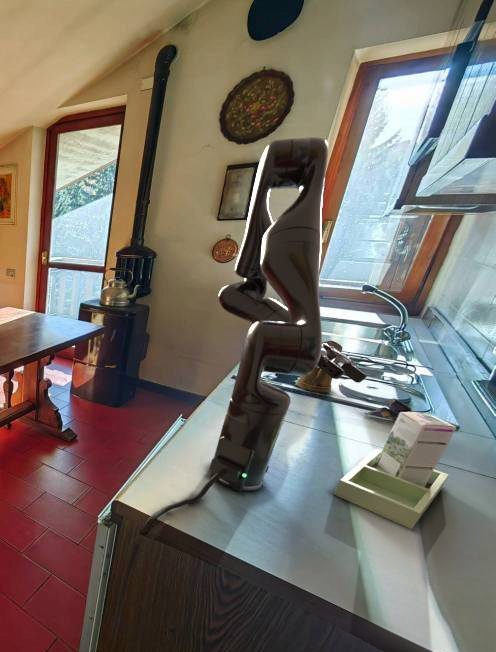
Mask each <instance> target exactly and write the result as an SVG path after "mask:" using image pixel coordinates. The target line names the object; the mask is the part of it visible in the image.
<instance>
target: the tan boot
mask: <svg viewBox="0 0 496 652" xmlns="http://www.w3.org/2000/svg"><path fill="white" fill-rule="evenodd" d="M323 343H325V344H327V345H329V346H332V347H334V348H335V349H336V350H338V351H339V352H341V353H342V352H343V346H342V345H341V344H340V343H338V342H336V341H335V340H327V341H322V344H323ZM332 381H333V378H332V377H330V376H329V375H328V374H327V373H325V372H324V371H323V370H322V369H320V367H319V368H317V367H316V368H315V369H314V370H313V371H312V372H311V373H310V374H308V375H303V376H301V375H300V377H299V378H298V379H297V381H296V383H295V385H296V386H297V387H299V388H300V389H303V390H306V391H309V392H314V393H324V394H327V393H330V392H331V390H332Z"/></svg>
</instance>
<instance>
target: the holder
mask: <svg viewBox="0 0 496 652" xmlns="http://www.w3.org/2000/svg"><path fill="white" fill-rule="evenodd" d="M381 452H382V450H379V449H374V450H373V451H372V452H371V453H369V454H368V455H367V456H366V457H365V458H363V460H361V461H360V462H359V463H358V464H357V465H355V466H354V467H353V468H352V469H351V470H349V471H348V473H346V474H345V475H344V476H343V477H341V479H339V481H338V484H337V485H336V488H335V489H334V493H333V495H334V496H336V497H339V498H341V499H343V500H345V501H347V502H350V503H352V504H354V505H356V506H359V507H361V508H364V509H365V510H368V511H370V512H373V513H375V514H377V515H379V516H381V517H383V518H385V519H387V520H390V521H392V522H395V523H397V524H399V525H401V526H403V527H406V528H407V529H410V530H413V529H414V527H415V526H416V524H417V523H418V522H419V520H420V518H421V517H422V516H423V514H424V513H425V512H426V510H427V509H428V508H429V506H430V505H431V504H432V502H433V500H434V499H435V498H436V497H437V495H438V494H439V493H440V491H441V490H442V488H443V486H444V485H445V483H446V481H447V479H448V478H449V476H450V475H449V474H448V473H446V472H443V471H439V470H437V469H434V470H433V472H432V474H431V476H430V477H429V479H428V481H427V483H426V485H425V487H422V486H420V485H417V484H414V483H412V482H409V481H406V480H404V479H401V478H399V477H396V476H393V475H391V474H388V473H385V472H383V471H380V470H378V469H375V468H374V467H375V465H376V463H377V460H378V458H379V456H380V454H381Z"/></svg>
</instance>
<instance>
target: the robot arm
mask: <svg viewBox="0 0 496 652" xmlns="http://www.w3.org/2000/svg"><path fill="white" fill-rule="evenodd" d="M328 159H329V143H328V142H327V140H326V139H325V138H323V137H319V136H309V137H295V138H280V139H279V138H278V139H274V140H272V141H271V142H269V143H268V144H267V145H266V147H265V149H264V151H263V153H262V155H261V157H260V160H259V163H258V167H257V172H256V176H255V180H254V184H253V188H252V189H253V190H252V195H251V198H250V199H251V200H250V203H249V204H250V205H249V211H248V216H247V221H246V228H245V232H244V237H243V240H242V244H241V247H240V250H239V254H238V256H237V259H236V262H235V266H234V272H235V274H236V275H237V276H238V277H240V278H243V279H244V280H241V281H237V282H233V283H230V284H228V285H226V286H223V287H222V288H221V289H220V291H219V293H218V297H217V298H218V303H219V305H220V306H221V308H222V309H223V310H224V311H226V312H227V313H229V314H231V315H232V316H235V317H237V318H240V319H241V320H245V321H247V322H250V323H252V325H251V326H250V327H249V329H248V331H247V333H246V336H245V338H244V342H243V348H242V351H241V356H240V361H239V365H238V369H237V373H236V377H235V381H234V385H233V390H232V393H231V396H230V400H229V403H228V407H227V410H226V413H225V417H224V420H223V423H222V427H221V429H220V430H221V431H220V434H219V437H218V440H217V444H216V448H215V451H214V455H213V458H212V459H211V462H210V465H209V469H208V470H209V474H208V477H209V478H210V479H209V480H208V481H207V482H205V484H204V486H202V488H201V490H200V491H199V492H198V493H197V494H195V495H194V496H192V497H188V498H186V499H182V500H180V501H177V502H174V503H171V504H168V505H166V506H164V507H162V508H161V509H159V510H157V511H155V512H154V513H153V514H151V515H150V516H149V518H148V519H147V520H146V522H145V523H144V525H142V527H141V530H140V532H141V533H142V534H147V532H149V529H150V528H151V526H152V525H153V523H155V521H156V520H157V519H158V518H159V517H161V516H163V515H164V514H166V513H168V512H170V511H172V510H175V509H177V508H181V507H183V506H185V505H188V504H192V503H195V502H197V501H199V500H200V499H202V498H203V497H204V496H205V495H206V494H207V493H208V491H209V489H210V488H211V487H212V486H213V485H214V484H215V483H216V482H219V483H220V484H222V485H225V486H226V487H228V488H230V489H232V490H234V491H236V492H238V493H240V492H242V491H245V492H253V491H258V490H259V489H260V488H261V487H262V485H263V482H264V478H265V474H267V473H268V470H269V468H270V467H269V464H270V461H271V457H272V454H273V451H274V449H275V446H276V443H277V440H278V439H279V435H280V433H281V430H282V427H283V424H284V423H285V419H286V416H287V412H288V411H289V408H290V405H291V402H292V401H291V399H292V398H291V396H290V394H289V393H288V392H286V391H285V390H284V389H282V388H280V387H278V386H275V385H274V384H271V383H269V382H267V381H265V380H264V379H262V373H263V372H266V373H271V374H273V373H274V374H281V375H288V376H289V375H290V376H300V377H301V376H303V375H308V374H310V373H311V372H312V371H313V370H314V369H315V368H316V367H317V368H319V367H320V369H322V370H323V371H324V372H325V373H327V374H328V375H329V376H330V377H332V380H339V379H340V378H341V377H342V376H343V375H345V376H346V377H348V378H349V379H350V380H352V381H353V382H355V383H357V384H359V383H362V382H363V381H364V380H366V378H367V377H368V375H367V374H366V373H365V372H363V371H362V370H361V369H359V368H358V367H357V366H355V365H354V364H355V361H354V360H353V359H351V358H349V357H348V356H346V355H345V354H344V353H342V352H339V351H338V350H336V349H335V348H334V347H332V346H329V345H327V344H325V343H323V344H322V342H323V331H322V329H323V328H322V327H323V326H322V316H321V306H320V289H319V288H320V267H321V257H322V240H323V239H322V208H323V195H324V188H325V181H326V174H327V167H328ZM284 189H297V190H298V195H297V196H296V198H295V199H294V200H293V201H292V203H291V204H290V205H289V206H288V207H287V208H286V209H285V210H284V211H283V212H282V213H281V214H280V215H279V216H278V217H277V218H276V219H275V220H274V221H273V219H272V216H271V213H270V209H269V197H270V192H271V190H284ZM268 284H269V286H270V287H271V288H272V289H273V290H274V292H275V293H276V295H278V297H279V298H280V299H281V301H282V302H283V304H282V303H281V302H280V301H277V300H276V299H273V298H270V297H265V296H266V294H267V291H268ZM340 362H343V364H341V363H340ZM140 548H141V545H140V544H138V543H137V542H135V543H134V544H133V548H132V551H131V552H130V553H131V554H130V557H129V559H128V562H127V566H126V569H125V572H124V575H123V579H122V582H121V586H120V591H119V594H118V600H117V605H116V610H115V615H114V619H113V624H112V627H111V633H110V637H109V639H110V641H111V642H115V641H116V637H117V633H118V629H119V624H120V620H121V615H122V610H123V605H124V601H125V596H126V592H127V588H128V584H129V580H130V577H131V574H132V571H133V568H134V565H135V562H136V559H137V556H138V554H139V551H140Z"/></svg>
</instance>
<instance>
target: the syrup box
mask: <svg viewBox="0 0 496 652" xmlns="http://www.w3.org/2000/svg"><path fill="white" fill-rule="evenodd" d="M456 429H457V426H455V425H454V424H451V423H449V422H447V421H445V420H443V419H441V418H439V417H437V416H435V415H433V414H431V413H427V412H417V411H412V412H400V413H399V416H398V418H397V420H396V421H394V424H393V426H392V428H391V430H390V432H389V435H388V437H387V439H386V441H385V443H384V445H383V447H382V450H381V451H382V452H381V454H380V456H379V458H378V460H377V463H376V465H375V467H374V468H375V469H378V470H380V471H383V472H385V473H388V474H391V475H393V476H396V477H399V478H401V479H404V480H406V481H409V482H412V483H414V484H417V485H420V486H422V487H425V485H426V483H427V481H428V479H429V477H430V476H431V474H432V472H433V470H435V468H436V467H437V464H438V463H439V460H441V457H442V456H443V453H444V452H445V450H446V448H447V446H448V444H449V443H450V442H451V439H452V437H453V435H454V433H455V432H456Z"/></svg>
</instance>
